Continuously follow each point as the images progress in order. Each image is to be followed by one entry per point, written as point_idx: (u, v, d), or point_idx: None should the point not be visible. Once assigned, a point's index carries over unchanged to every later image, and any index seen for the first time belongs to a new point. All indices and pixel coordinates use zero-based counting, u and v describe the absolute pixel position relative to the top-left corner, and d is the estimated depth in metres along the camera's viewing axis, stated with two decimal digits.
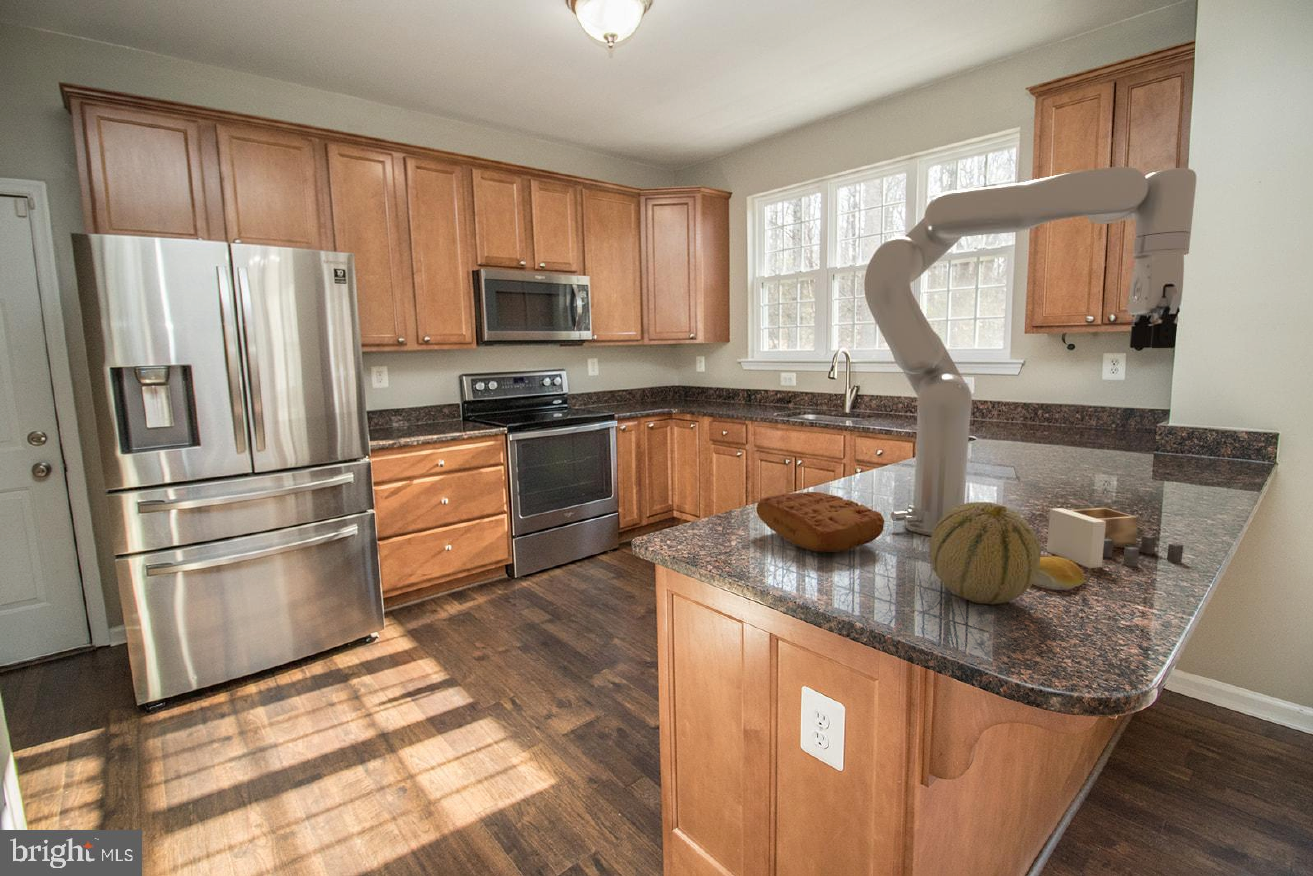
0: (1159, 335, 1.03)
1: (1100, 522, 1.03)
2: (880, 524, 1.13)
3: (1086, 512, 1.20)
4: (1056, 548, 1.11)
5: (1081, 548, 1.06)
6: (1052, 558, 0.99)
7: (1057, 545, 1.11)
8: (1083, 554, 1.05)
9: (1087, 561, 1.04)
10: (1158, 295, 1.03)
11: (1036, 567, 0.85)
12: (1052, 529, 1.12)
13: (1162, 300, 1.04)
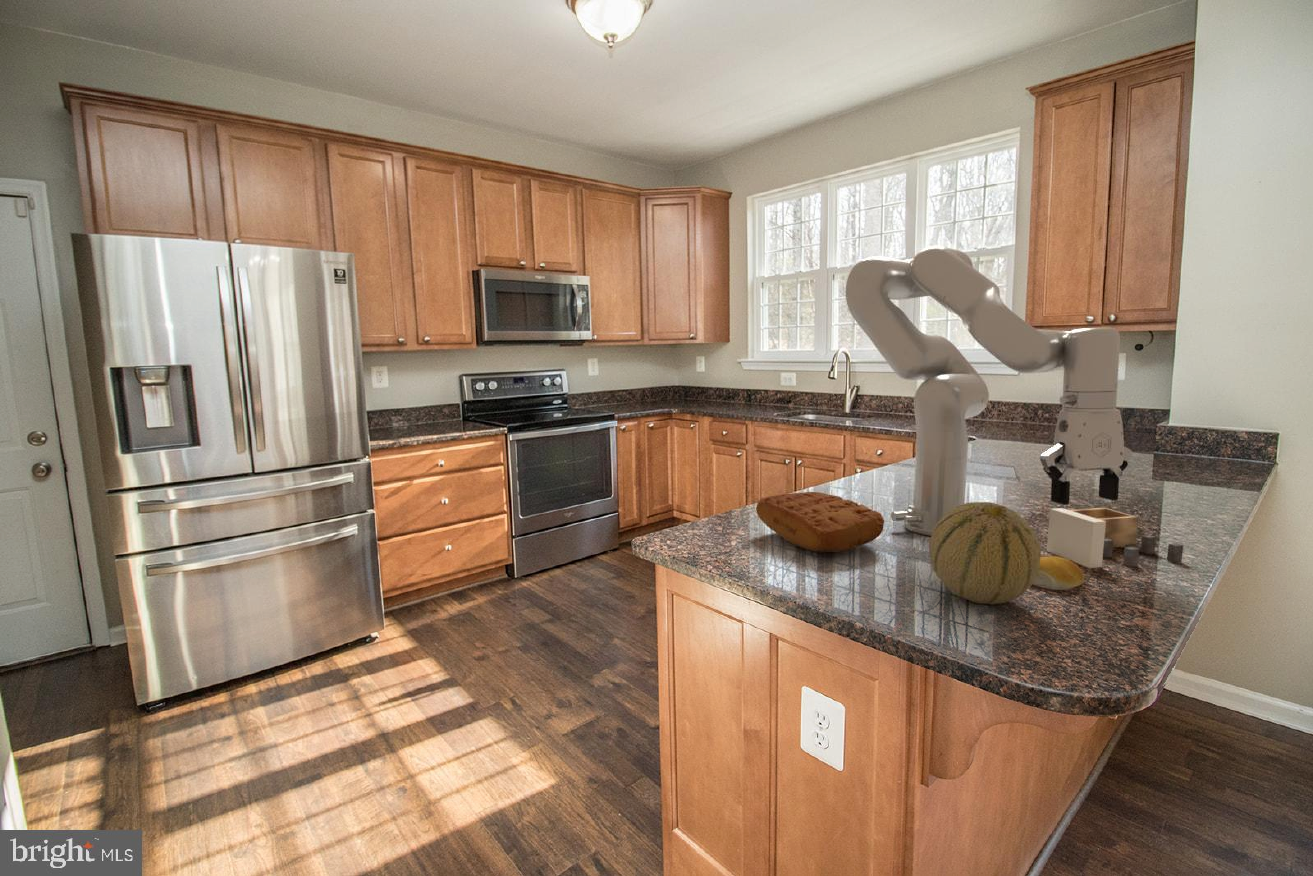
0: None
1: (1100, 522, 1.03)
2: (880, 524, 1.13)
3: (1086, 512, 1.20)
4: (1056, 548, 1.11)
5: (1081, 548, 1.06)
6: (1052, 558, 0.99)
7: (1057, 545, 1.11)
8: (1083, 554, 1.05)
9: (1087, 561, 1.04)
10: None
11: (1036, 567, 0.85)
12: (1052, 529, 1.12)
13: None
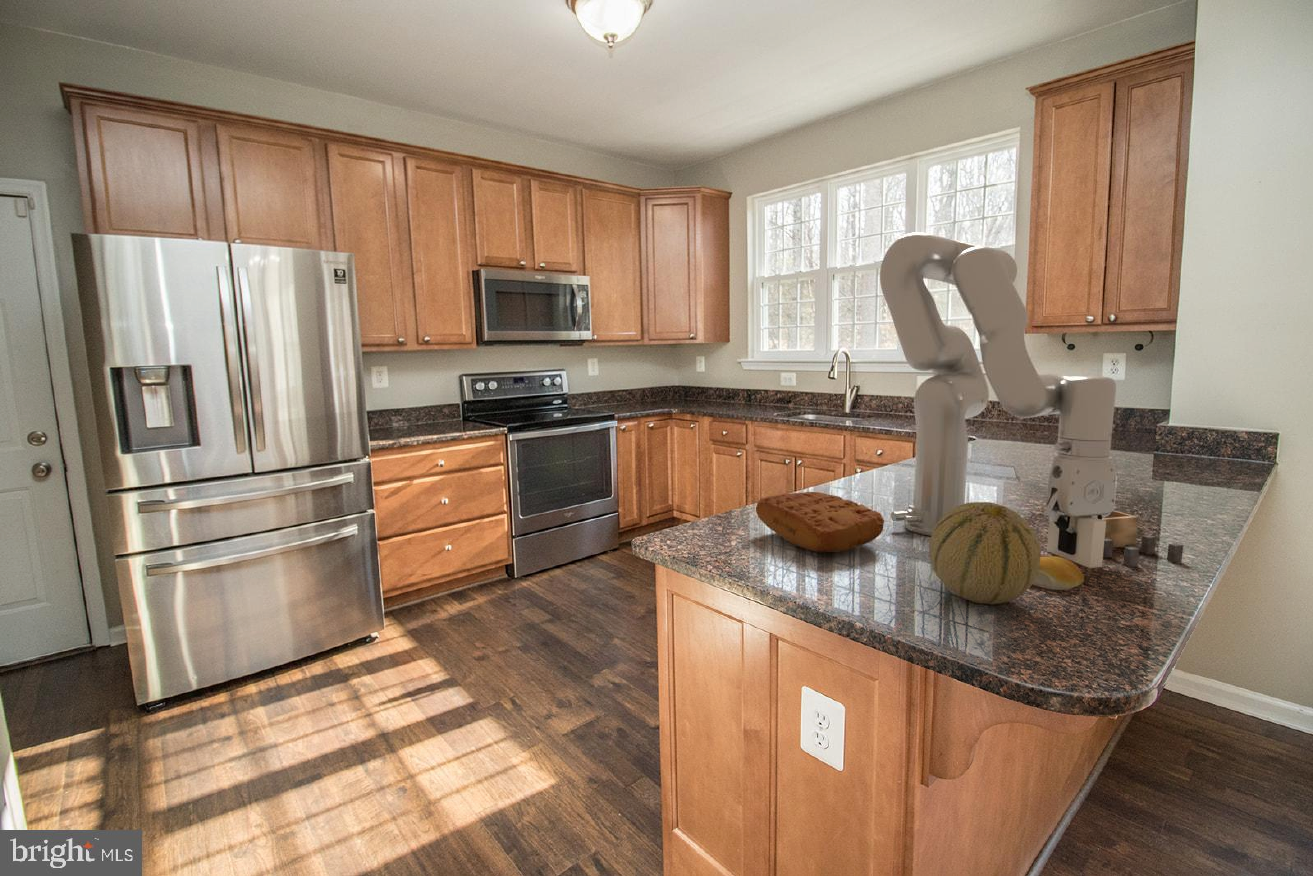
0: None
1: (1100, 522, 1.03)
2: (880, 524, 1.13)
3: None
4: (1056, 548, 1.11)
5: (1081, 548, 1.06)
6: (1051, 558, 0.99)
7: (1057, 544, 1.10)
8: (1083, 554, 1.05)
9: (1088, 561, 1.04)
10: None
11: (1036, 567, 0.85)
12: (1052, 529, 1.11)
13: None
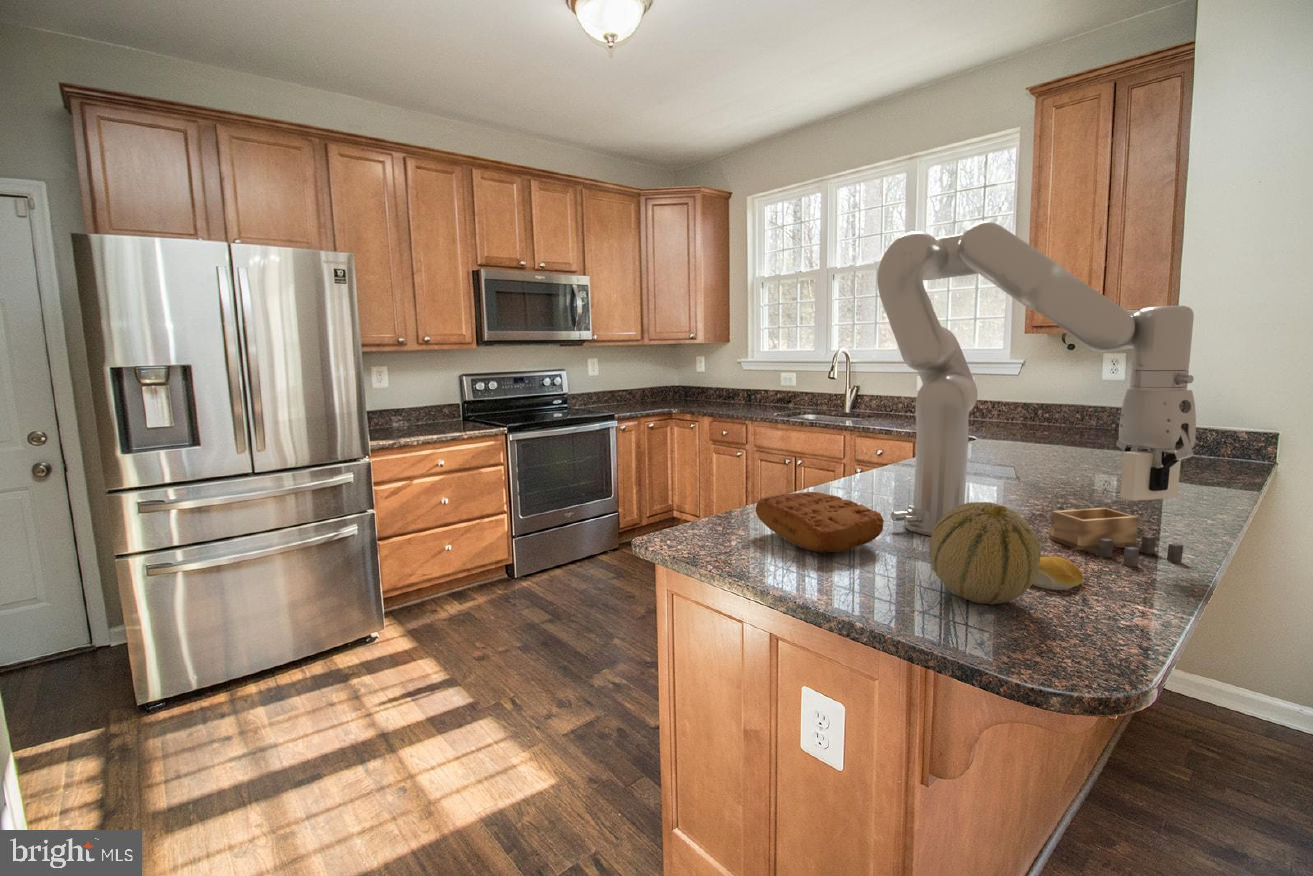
0: None
1: None
2: (879, 524, 1.13)
3: (1086, 512, 1.20)
4: (1143, 492, 1.05)
5: (1169, 481, 1.05)
6: (1051, 558, 0.99)
7: (1145, 489, 1.05)
8: (1171, 486, 1.06)
9: (1175, 491, 1.06)
10: None
11: (1036, 567, 0.85)
12: (1139, 475, 1.04)
13: None
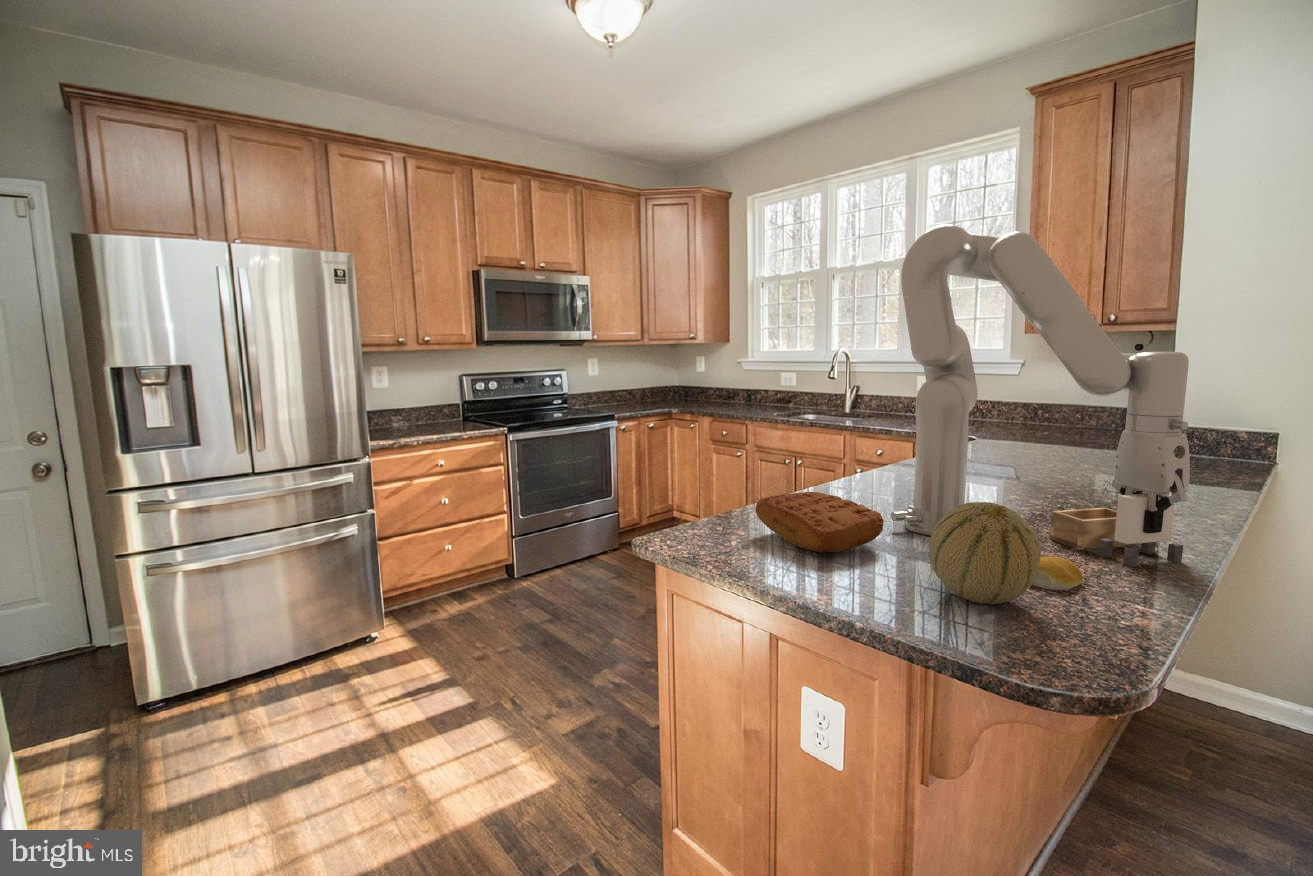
0: None
1: None
2: (879, 524, 1.13)
3: (1086, 512, 1.20)
4: (1137, 536, 1.06)
5: (1163, 525, 1.07)
6: (1050, 558, 0.99)
7: (1138, 532, 1.06)
8: (1165, 530, 1.07)
9: (1169, 534, 1.07)
10: None
11: (1036, 567, 0.85)
12: (1133, 519, 1.05)
13: None
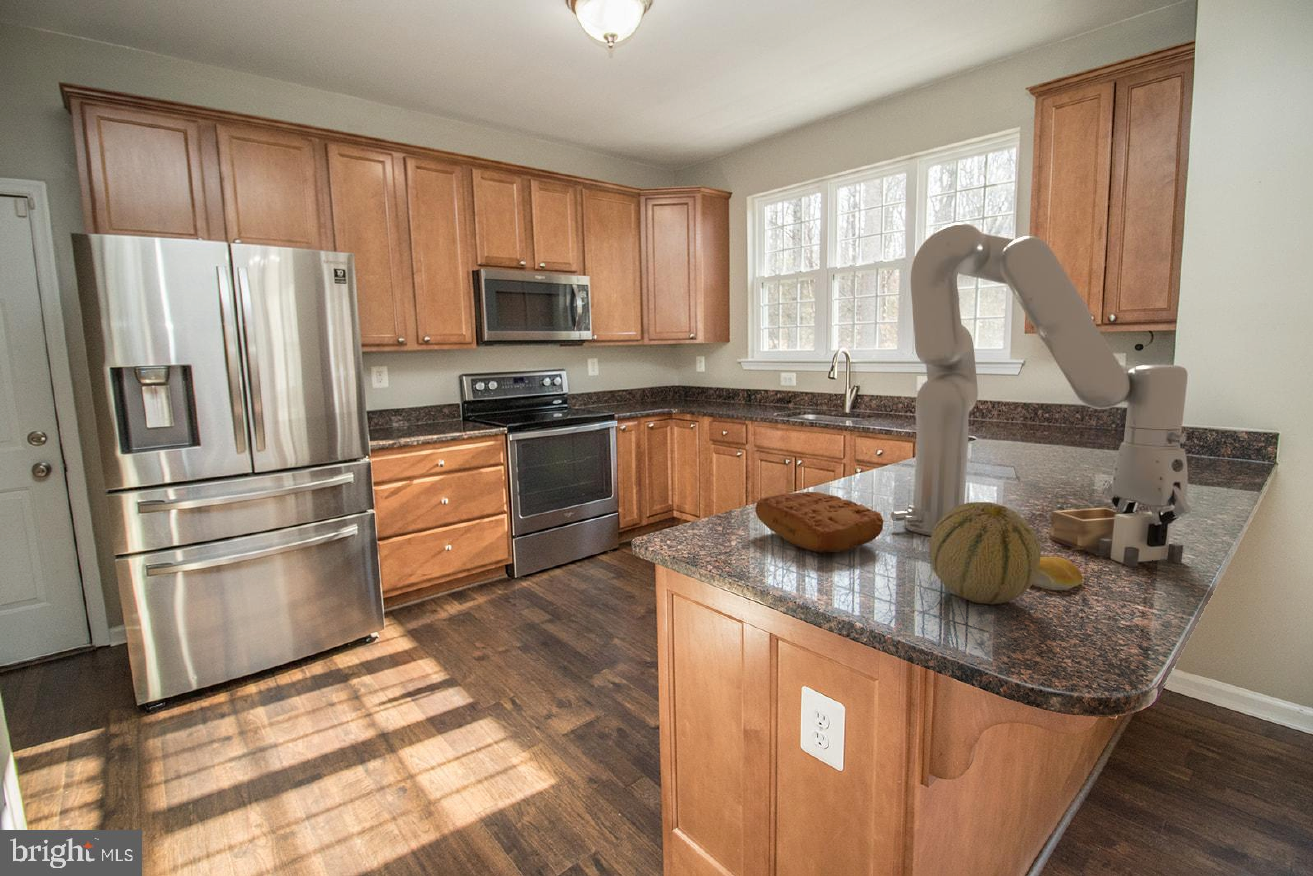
0: None
1: None
2: (879, 524, 1.13)
3: (1086, 512, 1.20)
4: None
5: None
6: (1050, 558, 0.99)
7: None
8: (1161, 549, 1.07)
9: (1165, 553, 1.08)
10: None
11: (1036, 567, 0.85)
12: (1129, 538, 1.06)
13: None
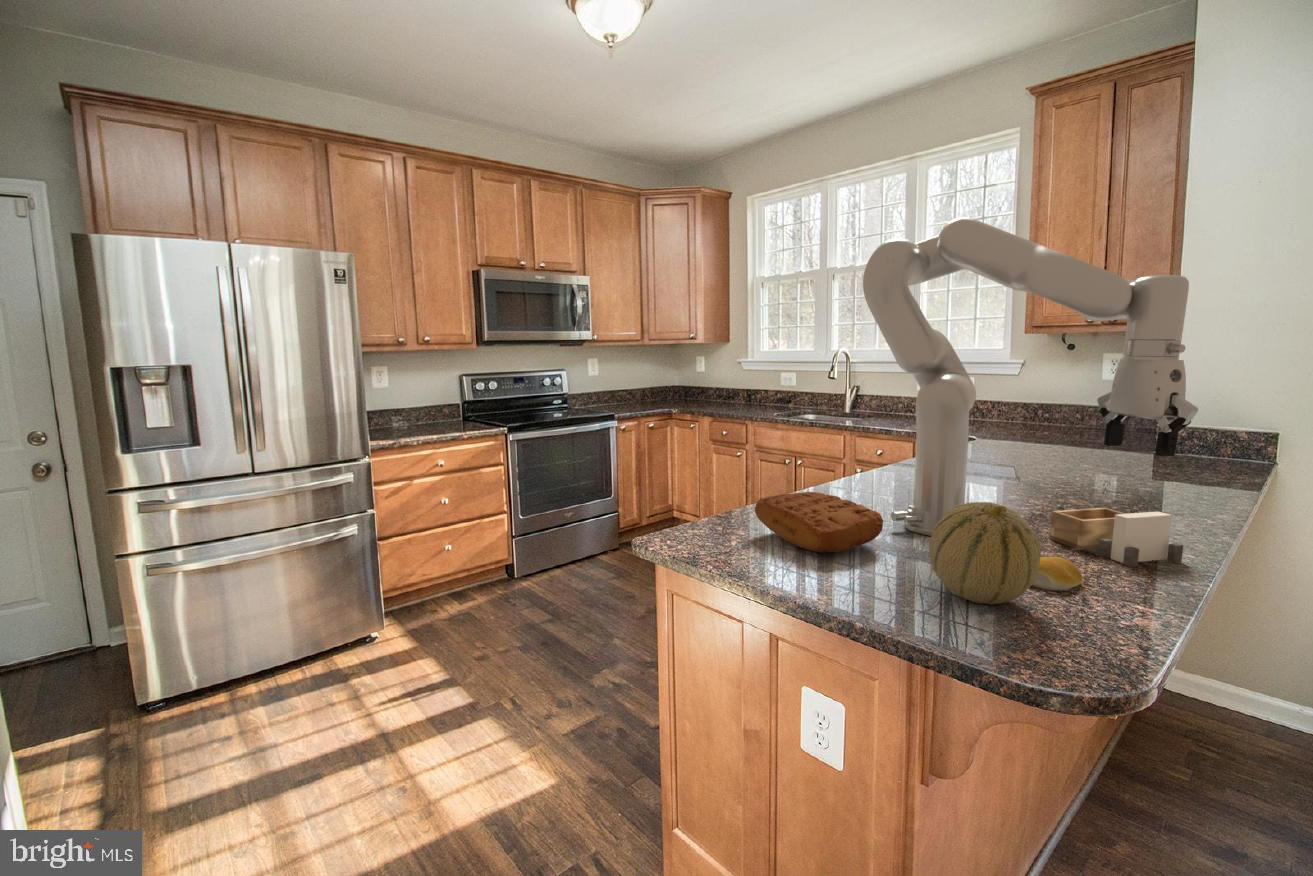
0: None
1: (1163, 513, 1.08)
2: (879, 524, 1.13)
3: (1086, 512, 1.20)
4: None
5: (1159, 544, 1.07)
6: (1050, 558, 0.99)
7: None
8: (1161, 549, 1.07)
9: (1165, 553, 1.08)
10: None
11: (1036, 567, 0.85)
12: (1129, 538, 1.06)
13: None
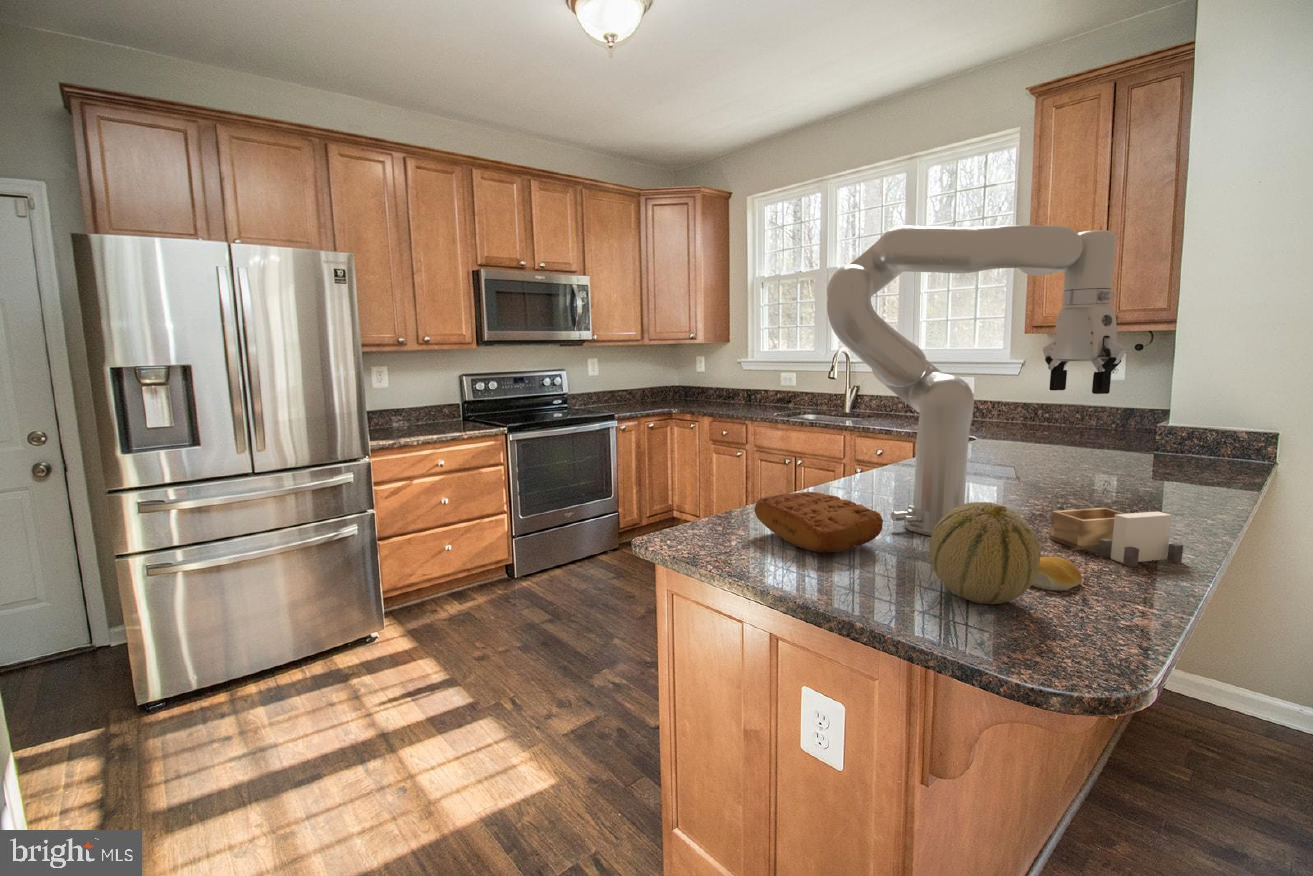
0: None
1: (1163, 513, 1.08)
2: (879, 524, 1.13)
3: (1086, 512, 1.20)
4: None
5: (1159, 544, 1.07)
6: (1049, 558, 0.99)
7: None
8: (1161, 549, 1.07)
9: (1165, 553, 1.08)
10: None
11: (1036, 567, 0.85)
12: (1129, 538, 1.06)
13: None
